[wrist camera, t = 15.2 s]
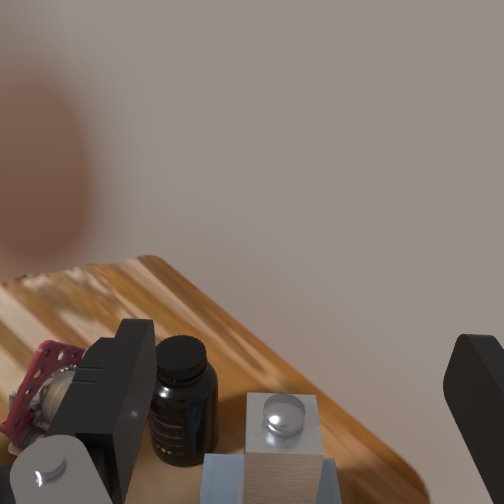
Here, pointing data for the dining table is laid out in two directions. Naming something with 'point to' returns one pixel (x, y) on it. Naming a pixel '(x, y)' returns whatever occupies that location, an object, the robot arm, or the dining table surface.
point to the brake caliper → (40, 394)
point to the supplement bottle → (183, 402)
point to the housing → (281, 450)
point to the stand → (230, 466)
